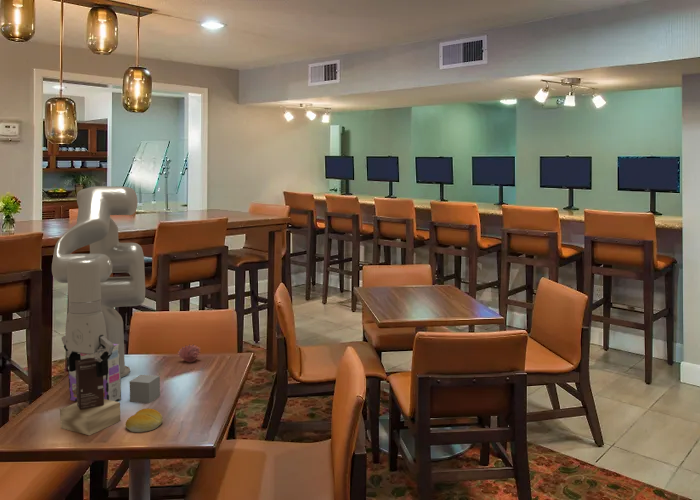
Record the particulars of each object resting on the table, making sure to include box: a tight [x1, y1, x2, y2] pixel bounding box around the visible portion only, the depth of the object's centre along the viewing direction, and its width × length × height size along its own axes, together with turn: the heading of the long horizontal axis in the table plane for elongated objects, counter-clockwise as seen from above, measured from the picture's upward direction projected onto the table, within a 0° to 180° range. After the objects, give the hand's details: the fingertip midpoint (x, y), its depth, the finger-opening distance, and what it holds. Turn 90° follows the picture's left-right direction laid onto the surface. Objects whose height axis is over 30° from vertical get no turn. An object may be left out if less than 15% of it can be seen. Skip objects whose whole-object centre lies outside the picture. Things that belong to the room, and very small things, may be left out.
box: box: [75, 357, 104, 410], centre depth 154 cm, size 6×4×12 cm
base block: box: [59, 399, 122, 436], centre depth 155 cm, size 10×10×5 cm
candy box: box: [66, 344, 122, 402], centre depth 172 cm, size 14×6×16 cm, turn 71°
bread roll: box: [125, 407, 164, 433], centre depth 154 cm, size 8×9×4 cm
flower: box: [177, 344, 202, 363], centre depth 208 cm, size 8×8×6 cm
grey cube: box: [128, 374, 161, 404], centre depth 173 cm, size 6×6×6 cm
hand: (88, 372), depth 154 cm, fingers open, 9 cm apart
